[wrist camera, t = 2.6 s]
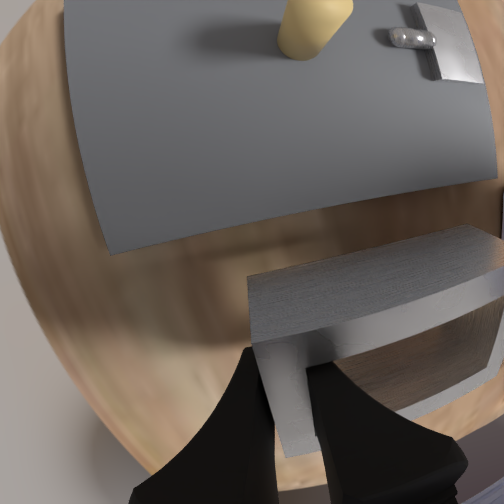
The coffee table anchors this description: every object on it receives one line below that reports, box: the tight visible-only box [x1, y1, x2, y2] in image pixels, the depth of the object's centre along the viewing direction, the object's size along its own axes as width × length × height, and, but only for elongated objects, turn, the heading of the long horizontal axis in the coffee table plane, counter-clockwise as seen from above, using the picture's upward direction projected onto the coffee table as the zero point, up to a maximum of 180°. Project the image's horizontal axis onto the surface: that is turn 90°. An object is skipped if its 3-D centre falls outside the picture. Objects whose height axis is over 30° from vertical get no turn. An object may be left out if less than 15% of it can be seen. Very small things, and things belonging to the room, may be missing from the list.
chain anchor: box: [388, 2, 484, 85], centre depth 8 cm, size 5×4×1 cm
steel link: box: [247, 224, 504, 458], centre depth 10 cm, size 10×6×4 cm, turn 102°
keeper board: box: [64, 0, 498, 256], centre depth 8 cm, size 20×14×6 cm
